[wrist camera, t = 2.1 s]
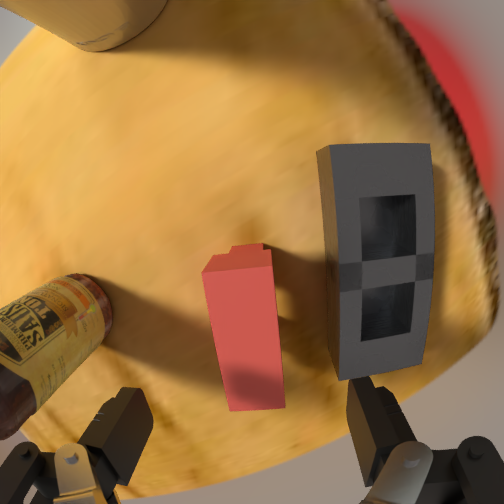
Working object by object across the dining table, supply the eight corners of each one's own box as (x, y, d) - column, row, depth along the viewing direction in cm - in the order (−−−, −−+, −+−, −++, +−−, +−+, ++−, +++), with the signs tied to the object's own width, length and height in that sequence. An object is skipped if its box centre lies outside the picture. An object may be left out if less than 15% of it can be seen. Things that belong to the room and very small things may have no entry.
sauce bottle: (112, 273, 20) (-102, 453, 1) (120, 345, 22) (-16, 538, 3) (49, 265, 21) (-139, 381, 1) (60, 331, 22) (-82, 470, 3)
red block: (223, 239, 20) (201, 272, 13) (269, 234, 19) (272, 265, 12) (239, 346, 21) (229, 411, 15) (280, 343, 21) (285, 408, 14)
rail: (316, 151, 18) (329, 144, 14) (400, 148, 17) (429, 143, 14) (328, 348, 21) (338, 380, 17) (400, 336, 21) (421, 363, 17)
